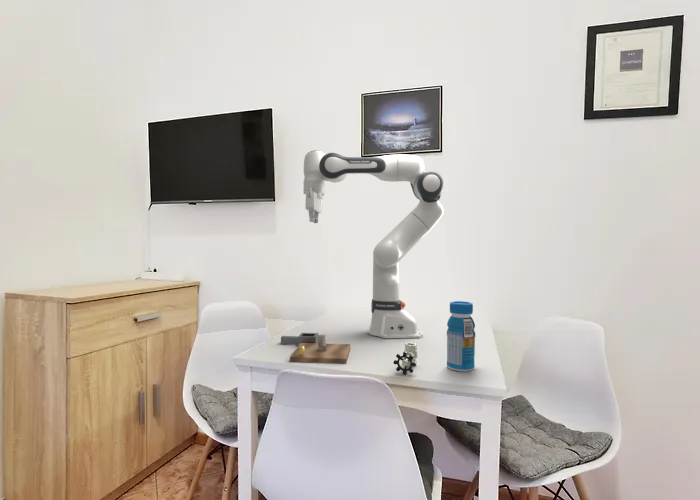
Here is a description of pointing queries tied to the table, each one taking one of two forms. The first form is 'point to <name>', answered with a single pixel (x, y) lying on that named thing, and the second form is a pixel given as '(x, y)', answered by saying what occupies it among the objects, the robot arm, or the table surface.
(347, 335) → the table surface
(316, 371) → the table surface
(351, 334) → the table surface
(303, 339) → the square loop paddle
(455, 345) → the beverage bottle
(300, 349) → the dowel
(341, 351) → the base
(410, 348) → the valve
